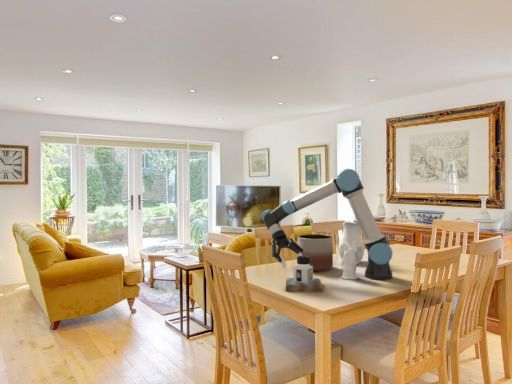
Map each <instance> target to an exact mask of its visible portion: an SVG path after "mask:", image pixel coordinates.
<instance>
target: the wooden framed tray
mask: <svg viewBox="0 0 512 384" xmlns="http://www.w3.org/2000/svg"><path fill="white" fill-rule="evenodd" d="M285 292H301V293H302V292H306V293H312V292H313V293H314V292H315V293H323V285H322V282H321V278H318V277H317V278H315V277H313V281H311V282H310V283H308V284H305V283H297V282H294V277H288V278H286V280H285Z"/></svg>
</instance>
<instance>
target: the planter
mask: <svg viewBox="0 0 512 384" xmlns="http://www.w3.org/2000/svg"><path fill="white" fill-rule="evenodd" d="M333 240H334V239H333V236H331V235H330V234H329V235H328V234H321V233H320V234H316V233H315V234H314V233H313V234H312V233H309V234H307V233H305V234H301V235H298V236H297V244H298V245H299V246H300V247H301V248H302V249H303V250H304V251H303V252H302V254H303V256H308V257H309V258H310V265H309V266H313V272H325V271H330V270H331V269H332V268H333V265H334V261H333V259H334V258H333V257H334V256H333V254H334V253H333V249H334V248H333ZM296 254H297V253H296ZM297 255H298V254H297ZM297 255H296V256H297ZM297 257H298V256H297ZM297 257H296V258H297Z"/></svg>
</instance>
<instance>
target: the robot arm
mask: <svg viewBox="0 0 512 384" xmlns="http://www.w3.org/2000/svg"><path fill="white" fill-rule="evenodd" d="M364 189H365V188H364V185H363V184H362V182H361V179H360V176H359V173H357V171H355V170H354V169H352V168H344V169H342V170H340V171H339V173H338V174H337V175H336V176H334V177H333V178H331V180H330V181H327V182H325V183H324V184H322V185H320V186H317V187H315V188H313V189H311V190H310V191H307V192H305V193H303V194H301V195H299V196H297V197H294V198H293V199H291V200H289V199H287V200H285V201H283V202H282V203H281V204H280V205H278V206H277V207H275V208H274V209H273V210H272V209H266V210H264V211H262V213H261V214H260V215H261V219H262V222H263V224H264V225H265V227H266V229H267V231H268V233H269V234H270V236H271V238H272V241H271V242H270V245H271V253H272V254H271V255H272V258H275V260H277V262H278V263H280V265H281V268H283V269H285V268H286V267H287V263H286V261H285V259H284V258H283V256H282V255H281V250H282V249H284V248H285V249H286V248H287V249H290V250H291V251H292V252H294V253H295V254H298V255H296V256H298V257H299V256H303V254H302V252H303V251H304V250H303V249H302V248H301V247H300V246H299V245H298V243H296V242H295V241H294V239H293V238H292V237H291V238H290V239H288V238H287V234H286V232H285V231H284V229H283V227H282V225H281V223H280V222H281V221H283V220H284V219H286V218H287V217H289V216H291V215H292V214H294V213H296V212H298V211H301V210H302V209H304V208H307V207H310V206H311V205H313V204H315V203H317V202H318V203H319V201H322V200H324V199H327V198H328V197H331V196H332V195H335V194H337V193H338V194H340V193H341V194H342V196H343V198H345V199H347V201H348V204H349V205H350V208H351V210H352V211H353V212H352V213H353V214H354V217H355V219H356V221H357V223H358V224H359V226H360V227H359V229H360V231H361V233H362V235H363V237H364V239H365V240H364V241H363V243H364V247H365V249H366V251H367V265H366V268H365V270H364V277H365V278H367V279H372V280H381V281H382V280H392V279H393V272H392V268H391V265H390V262H391V260H392V258H393V250H392V248H391V247H390V237H388V236H386V235H385V234H383V233H381V230H380V229H379V226H378V224H377V222H376V219H375V217H374V216H373V213H372V210H371V209H370V208H371V207H370V206H369V204H368V201H367V200H366V197H365V195H364V193H363V191H364Z"/></svg>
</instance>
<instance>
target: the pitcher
mask: <svg viewBox="0 0 512 384" xmlns="http://www.w3.org/2000/svg"><path fill="white" fill-rule="evenodd" d="M342 225H343V231H342V234H341V237H340V240H339V241H338V242H339V243H338V255H339V257H340V259H341V260H342V259H343V257H344V251H342V249H341V247H340V244H341V243H342V242H343V241H346V242H348V243H349V244H350V247H351V248H352V246H351V243H352V242H353V241H355V242H356V245H358V246H360V245H361V247H362V248H361V252H357V254H358V259H359V263H361V261H362V260H363V258H364V255H365V244H364V240H363V237H362V235H361V230H360V226H359V224H358V222H355V221H354V222H352V221H350V220H349V219H345V220H344V222H343V223H342ZM359 263H358V264H359Z"/></svg>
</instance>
